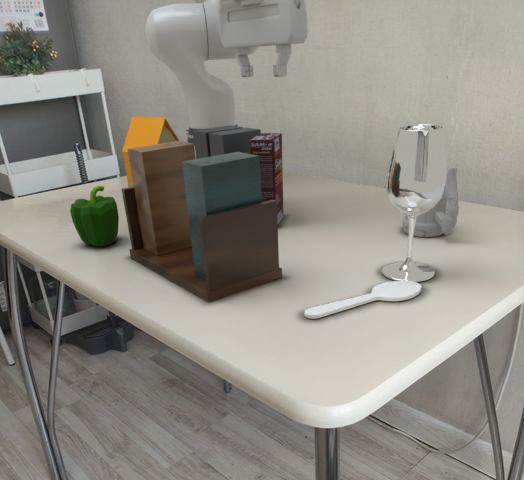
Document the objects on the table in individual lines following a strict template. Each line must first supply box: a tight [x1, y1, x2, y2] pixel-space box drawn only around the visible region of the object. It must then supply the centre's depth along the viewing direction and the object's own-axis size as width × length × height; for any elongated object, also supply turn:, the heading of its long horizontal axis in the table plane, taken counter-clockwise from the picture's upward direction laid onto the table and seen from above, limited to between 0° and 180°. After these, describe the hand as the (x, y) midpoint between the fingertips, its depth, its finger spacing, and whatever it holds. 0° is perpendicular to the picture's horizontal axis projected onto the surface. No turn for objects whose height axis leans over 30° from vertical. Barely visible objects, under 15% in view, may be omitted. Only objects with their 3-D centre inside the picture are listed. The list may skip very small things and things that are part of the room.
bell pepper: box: [69, 185, 120, 247], centre depth 96 cm, size 8×8×10 cm
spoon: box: [303, 280, 422, 320], centre depth 70 cm, size 5×18×1 cm, turn 116°
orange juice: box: [122, 116, 180, 187], centre depth 102 cm, size 8×9×20 cm
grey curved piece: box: [401, 166, 460, 238], centre depth 90 cm, size 8×12×12 cm, turn 20°
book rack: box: [121, 140, 283, 303], centre depth 80 cm, size 25×13×18 cm, turn 37°
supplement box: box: [250, 132, 285, 225], centre depth 101 cm, size 9×5×16 cm, turn 168°
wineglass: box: [381, 123, 448, 283], centre depth 73 cm, size 8×8×20 cm
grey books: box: [193, 125, 262, 159], centre depth 110 cm, size 11×9×16 cm
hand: (263, 77), depth 92 cm, fingers open, 8 cm apart
